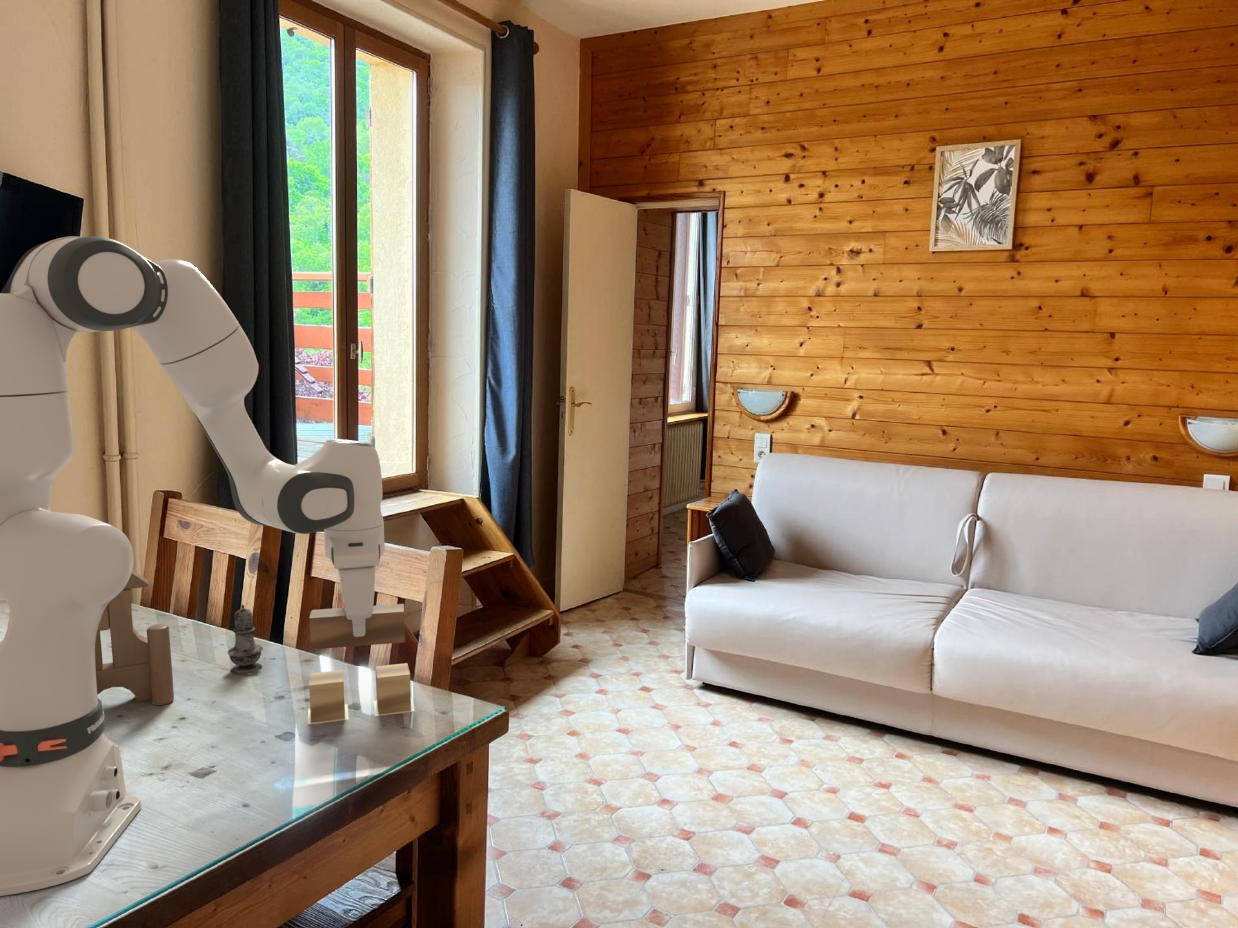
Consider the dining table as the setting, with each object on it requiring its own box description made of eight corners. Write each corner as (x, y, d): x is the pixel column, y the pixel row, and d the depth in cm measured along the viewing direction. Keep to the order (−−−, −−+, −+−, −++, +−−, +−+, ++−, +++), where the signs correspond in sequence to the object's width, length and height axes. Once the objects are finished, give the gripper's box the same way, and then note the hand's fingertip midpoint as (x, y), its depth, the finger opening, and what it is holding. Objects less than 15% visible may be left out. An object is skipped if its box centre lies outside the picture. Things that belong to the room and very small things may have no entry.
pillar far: (411, 710, 140) (409, 674, 139) (378, 714, 139) (377, 677, 138) (408, 698, 145) (407, 662, 144) (376, 701, 143) (375, 666, 143)
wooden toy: (63, 723, 137) (48, 566, 133) (65, 707, 142) (51, 556, 139) (174, 703, 144) (164, 554, 141) (172, 689, 150) (161, 545, 146)
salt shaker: (269, 668, 159) (266, 604, 158) (237, 677, 155) (233, 611, 153) (255, 660, 163) (251, 597, 161) (222, 669, 159) (218, 604, 157)
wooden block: (404, 642, 139) (403, 611, 138) (310, 649, 135) (309, 618, 135) (404, 633, 142) (403, 603, 142) (313, 640, 139) (311, 609, 138)
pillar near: (345, 718, 137) (343, 681, 136) (311, 722, 136) (309, 685, 135) (344, 705, 142) (343, 669, 141) (311, 709, 140) (309, 673, 140)
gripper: (333, 529, 145) (336, 611, 147) (333, 560, 126) (338, 653, 128) (372, 527, 147) (376, 607, 149) (379, 557, 128) (383, 649, 130)
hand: (358, 629), depth 139 cm, fingers closed on wooden block, 4 cm apart
